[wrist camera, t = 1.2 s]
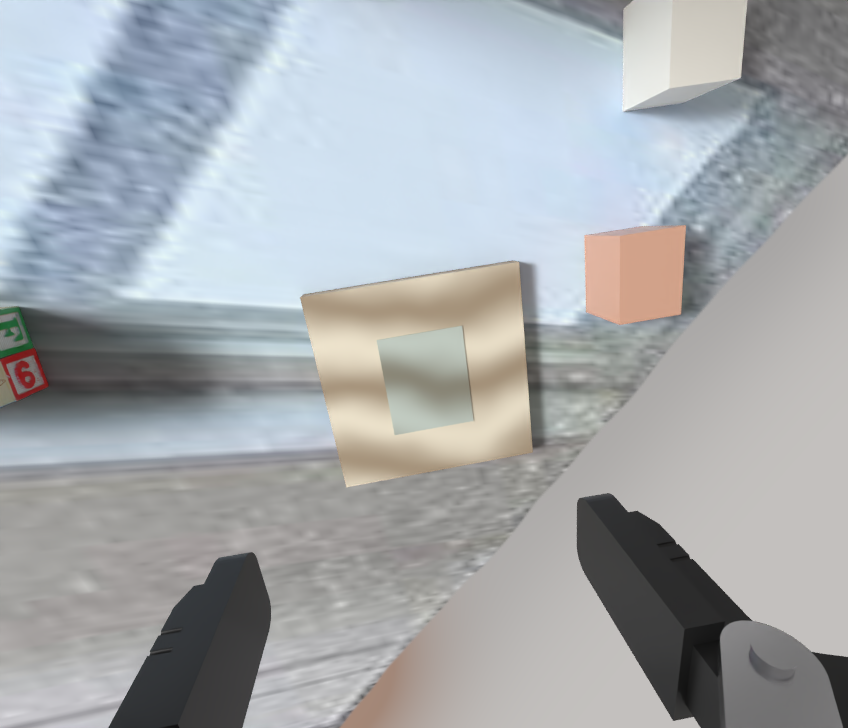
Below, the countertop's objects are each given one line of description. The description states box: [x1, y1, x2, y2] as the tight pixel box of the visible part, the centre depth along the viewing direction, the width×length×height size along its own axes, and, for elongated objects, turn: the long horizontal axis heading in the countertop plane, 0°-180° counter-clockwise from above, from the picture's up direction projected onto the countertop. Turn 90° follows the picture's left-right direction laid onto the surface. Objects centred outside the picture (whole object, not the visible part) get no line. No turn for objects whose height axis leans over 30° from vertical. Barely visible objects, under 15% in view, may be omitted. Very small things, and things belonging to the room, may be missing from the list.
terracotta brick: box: [585, 225, 686, 325], centre depth 30 cm, size 6×4×5 cm
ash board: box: [300, 261, 533, 487], centre depth 33 cm, size 16×16×2 cm
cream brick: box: [623, 0, 747, 112], centre depth 26 cm, size 6×4×5 cm
